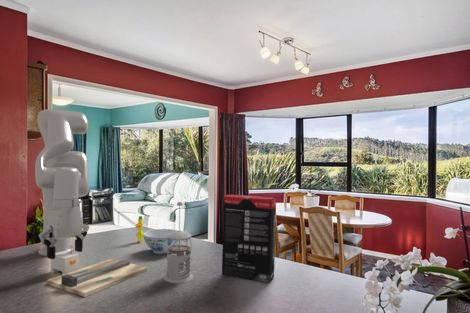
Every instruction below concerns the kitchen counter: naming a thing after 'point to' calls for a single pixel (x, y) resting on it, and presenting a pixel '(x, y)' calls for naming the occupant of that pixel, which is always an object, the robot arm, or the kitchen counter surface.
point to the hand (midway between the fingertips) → (65, 254)
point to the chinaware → (159, 240)
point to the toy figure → (139, 226)
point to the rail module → (65, 262)
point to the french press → (178, 257)
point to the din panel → (96, 277)
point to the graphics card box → (249, 237)
